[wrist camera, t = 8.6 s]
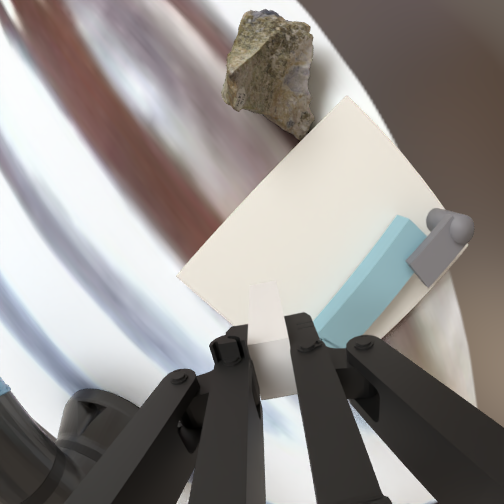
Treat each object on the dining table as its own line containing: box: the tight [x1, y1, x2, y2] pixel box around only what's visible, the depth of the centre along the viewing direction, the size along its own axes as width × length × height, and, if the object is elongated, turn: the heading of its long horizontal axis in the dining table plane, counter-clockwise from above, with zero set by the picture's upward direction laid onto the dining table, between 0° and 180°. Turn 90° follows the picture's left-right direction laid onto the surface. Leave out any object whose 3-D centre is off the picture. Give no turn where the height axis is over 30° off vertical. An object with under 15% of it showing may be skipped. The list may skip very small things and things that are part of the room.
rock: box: [221, 9, 314, 140], centre depth 21 cm, size 11×6×10 cm
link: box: [313, 215, 427, 348], centre depth 25 cm, size 18×6×2 cm, turn 144°
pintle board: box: [176, 96, 474, 339], centre depth 24 cm, size 22×19×6 cm
